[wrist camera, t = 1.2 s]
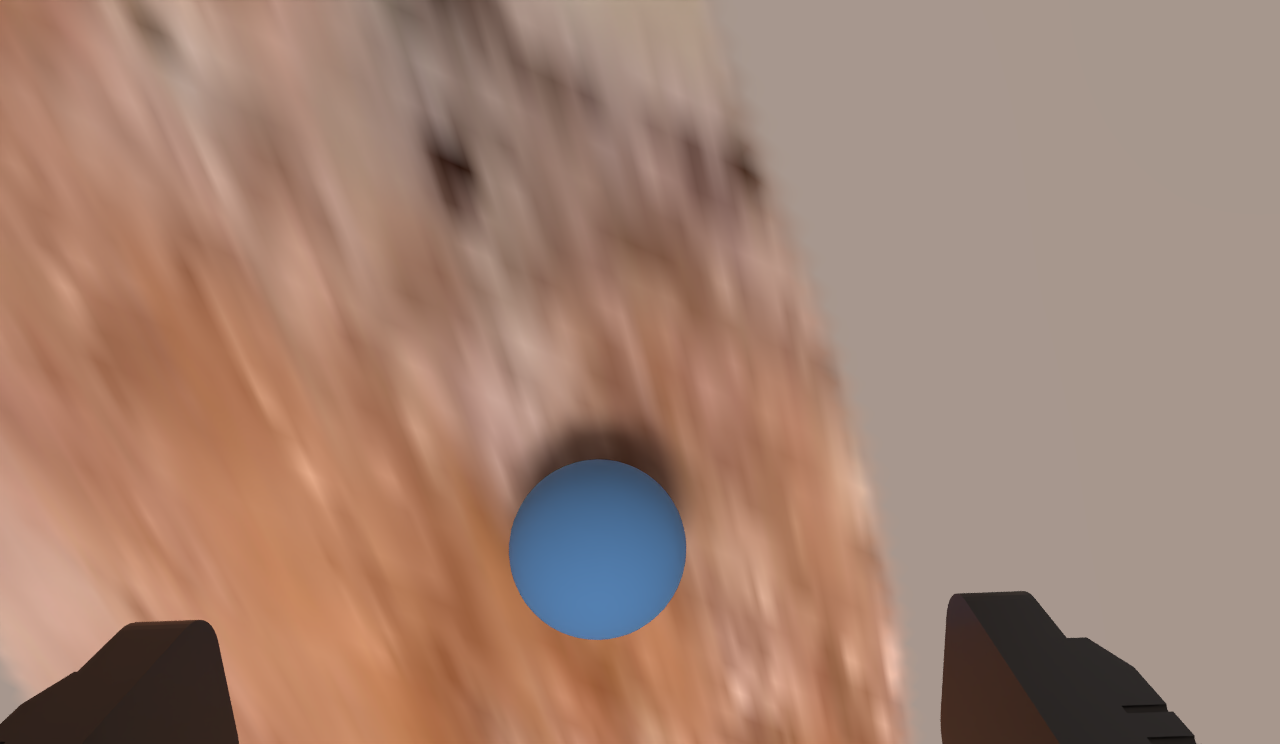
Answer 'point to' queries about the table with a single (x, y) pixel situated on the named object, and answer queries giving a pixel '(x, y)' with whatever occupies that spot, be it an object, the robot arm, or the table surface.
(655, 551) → the ball
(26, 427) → the table surface
